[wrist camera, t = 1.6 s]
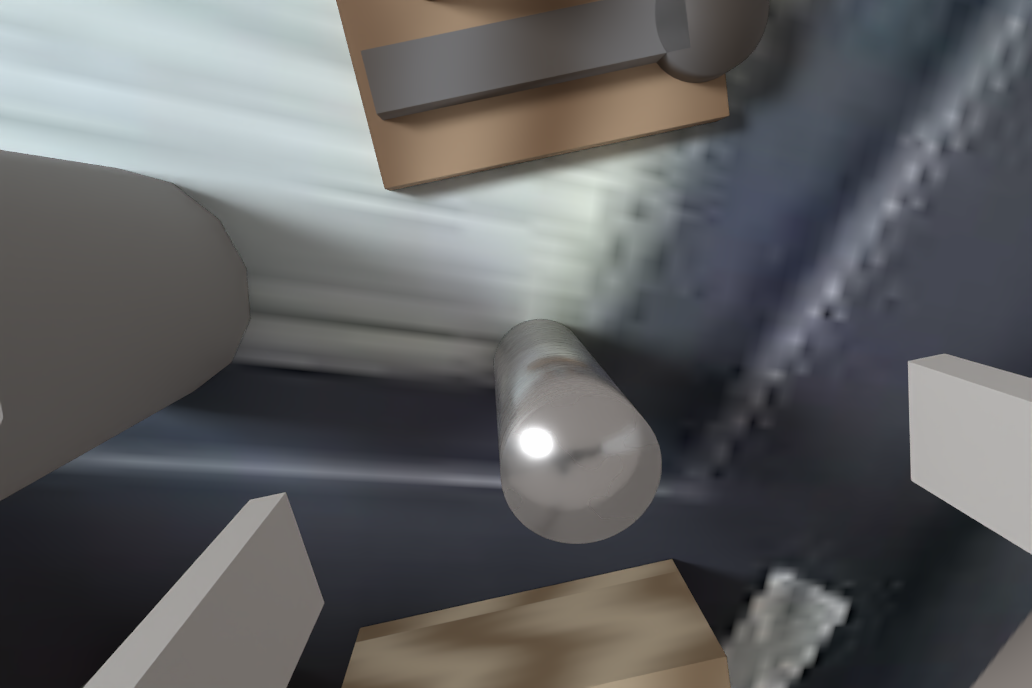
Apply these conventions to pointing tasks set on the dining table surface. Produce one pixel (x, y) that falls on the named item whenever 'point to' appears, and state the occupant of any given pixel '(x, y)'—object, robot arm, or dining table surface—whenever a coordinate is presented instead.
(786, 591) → the dining table surface
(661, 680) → the slot block
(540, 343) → the pin
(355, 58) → the peg rack
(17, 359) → the cup
